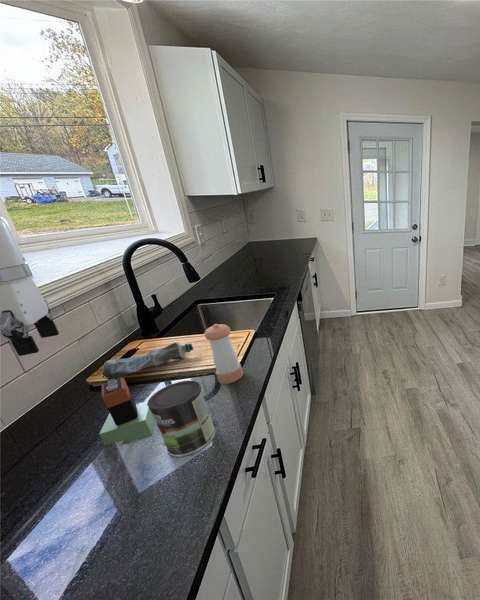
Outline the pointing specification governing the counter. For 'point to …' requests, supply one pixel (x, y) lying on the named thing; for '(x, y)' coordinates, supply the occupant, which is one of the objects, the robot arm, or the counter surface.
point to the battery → (119, 401)
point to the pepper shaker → (223, 354)
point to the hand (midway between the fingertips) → (40, 344)
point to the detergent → (144, 360)
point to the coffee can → (182, 418)
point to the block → (129, 427)
